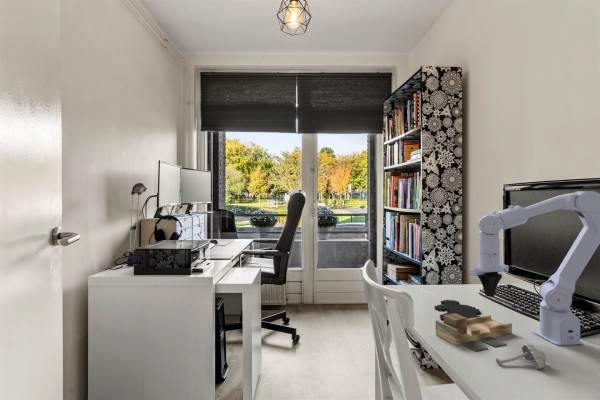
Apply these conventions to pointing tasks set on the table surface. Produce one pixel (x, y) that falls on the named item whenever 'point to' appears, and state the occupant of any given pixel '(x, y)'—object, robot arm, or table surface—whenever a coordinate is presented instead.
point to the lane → (475, 332)
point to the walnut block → (456, 322)
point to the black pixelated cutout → (457, 309)
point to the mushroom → (528, 356)
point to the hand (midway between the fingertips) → (489, 296)
